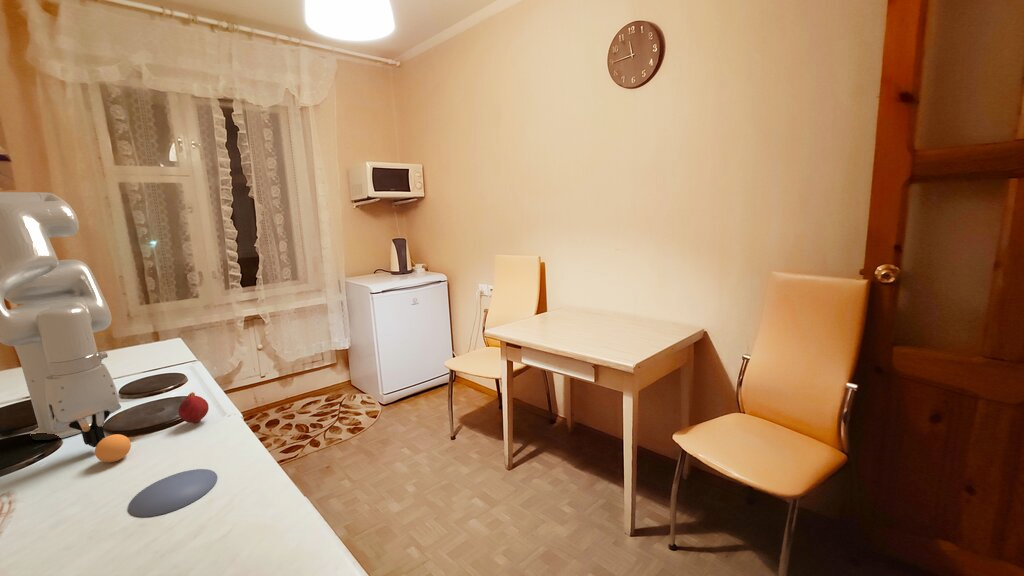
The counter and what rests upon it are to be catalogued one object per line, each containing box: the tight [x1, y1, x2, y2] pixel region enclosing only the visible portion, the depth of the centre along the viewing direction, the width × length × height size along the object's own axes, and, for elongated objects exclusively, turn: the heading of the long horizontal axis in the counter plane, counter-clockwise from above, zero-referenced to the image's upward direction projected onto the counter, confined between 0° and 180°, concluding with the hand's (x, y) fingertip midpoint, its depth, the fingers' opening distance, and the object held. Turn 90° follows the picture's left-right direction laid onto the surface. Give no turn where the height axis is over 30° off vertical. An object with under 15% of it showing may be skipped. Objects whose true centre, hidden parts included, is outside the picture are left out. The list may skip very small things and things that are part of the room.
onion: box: [177, 391, 210, 425], centre depth 104 cm, size 6×6×8 cm
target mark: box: [128, 468, 218, 518], centre depth 79 cm, size 13×13×1 cm
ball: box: [94, 433, 132, 463], centre depth 89 cm, size 6×6×6 cm
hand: (95, 444), depth 93 cm, fingers closed
